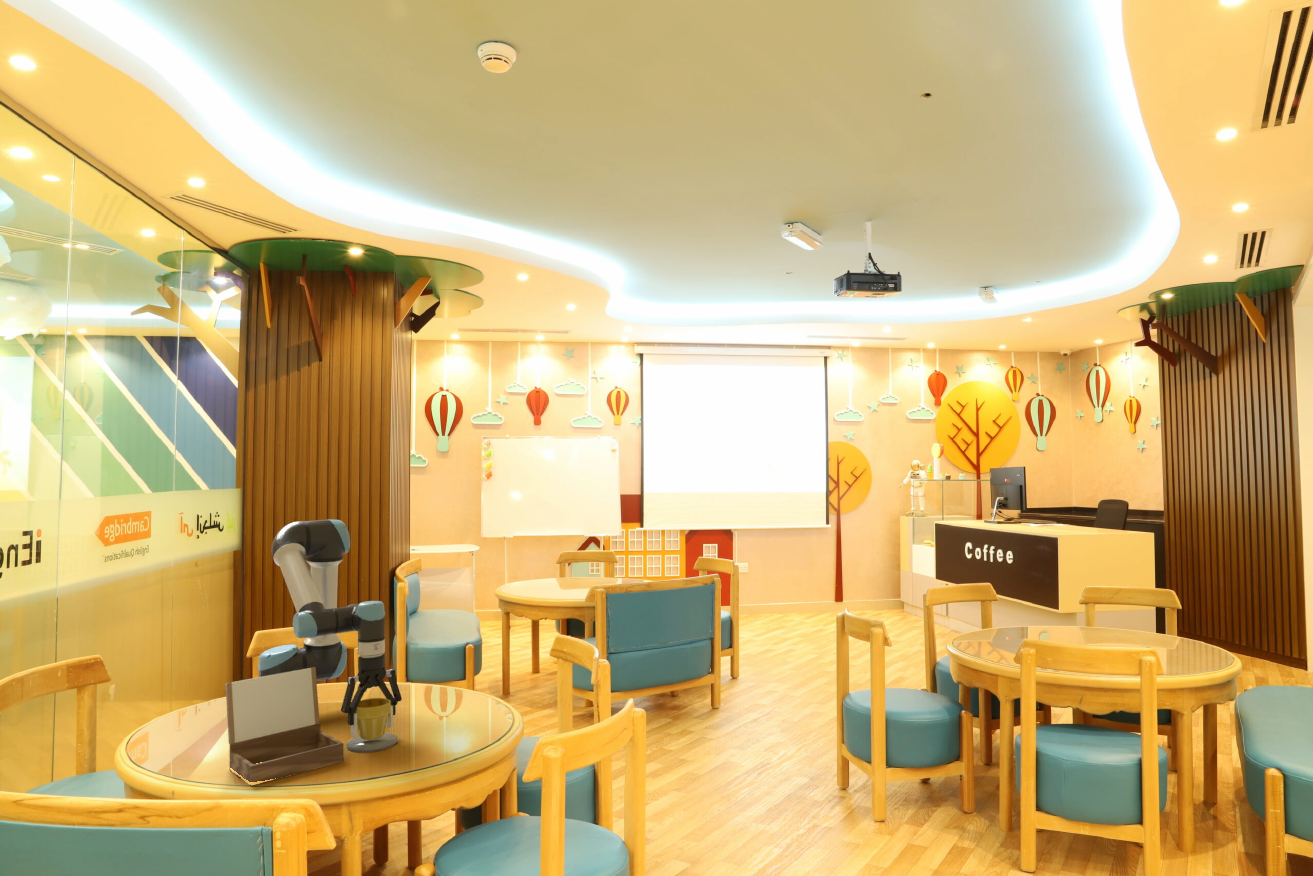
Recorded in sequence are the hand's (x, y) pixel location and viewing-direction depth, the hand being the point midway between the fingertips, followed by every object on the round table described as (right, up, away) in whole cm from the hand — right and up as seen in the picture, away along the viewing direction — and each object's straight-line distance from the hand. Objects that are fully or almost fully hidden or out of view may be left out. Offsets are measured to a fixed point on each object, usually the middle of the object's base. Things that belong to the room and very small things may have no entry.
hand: (372, 731), depth 238 cm
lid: (-24, +3, -9) cm, 26 cm away
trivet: (0, -4, 0) cm, 4 cm away
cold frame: (-17, -3, -17) cm, 24 cm away
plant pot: (0, -2, 0) cm, 2 cm away
